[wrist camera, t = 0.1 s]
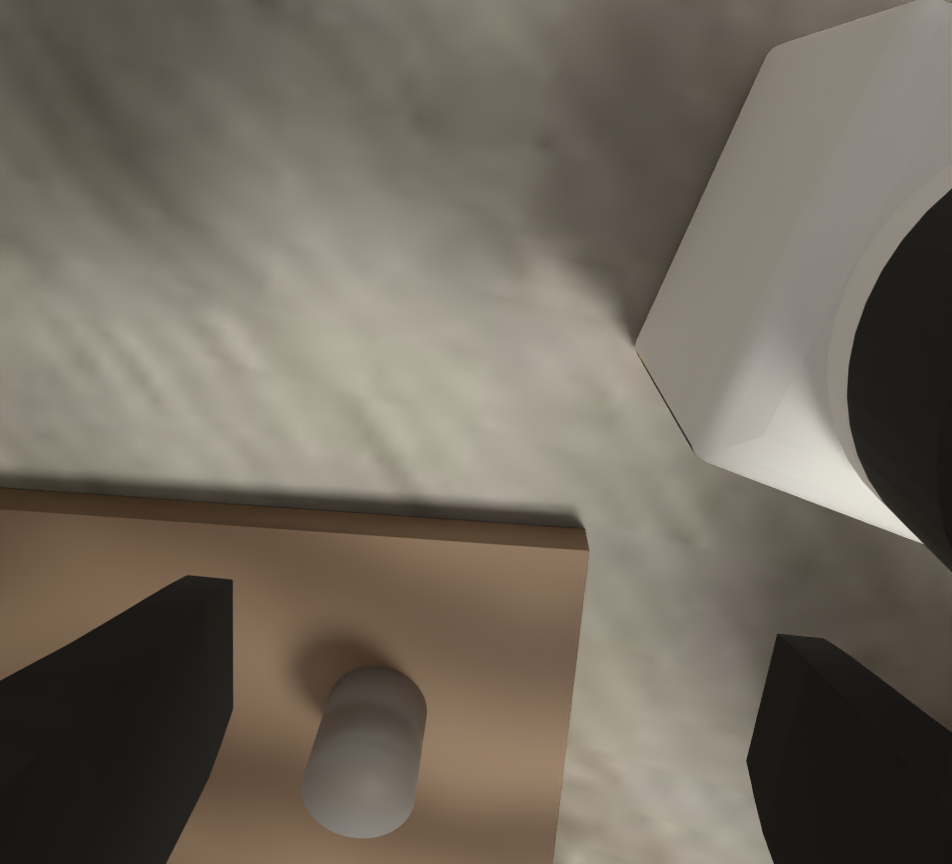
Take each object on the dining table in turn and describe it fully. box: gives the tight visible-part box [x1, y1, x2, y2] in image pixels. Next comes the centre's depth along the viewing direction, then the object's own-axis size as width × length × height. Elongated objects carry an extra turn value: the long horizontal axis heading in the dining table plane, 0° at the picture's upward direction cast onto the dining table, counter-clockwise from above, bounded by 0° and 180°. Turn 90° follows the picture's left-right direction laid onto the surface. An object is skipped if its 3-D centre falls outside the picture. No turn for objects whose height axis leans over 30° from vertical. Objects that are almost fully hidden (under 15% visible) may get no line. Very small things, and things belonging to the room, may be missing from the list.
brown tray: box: [0, 488, 589, 864], centre depth 22 cm, size 16×18×4 cm
